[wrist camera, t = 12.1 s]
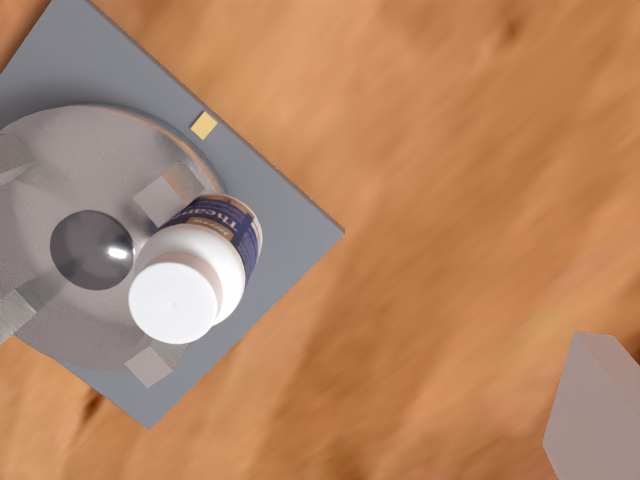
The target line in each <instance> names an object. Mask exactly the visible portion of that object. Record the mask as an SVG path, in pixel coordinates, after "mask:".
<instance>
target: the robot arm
mask: <svg viewBox="0 0 640 480" xmlns="http://www.w3.org/2000/svg"><path fill="white" fill-rule="evenodd" d="M542 445H543V447H544V449H545V452H546V454H547V456H548V458H549V460H550V463H551V465H552V467H553V469H554V471H555V474H556V476H557V478H558V480H640V366H639V365H638V364H637V363H636V362H635V360H634V359H633V358H632V357H631V356H630V355H629V353H628V352H627V351H626V350H625V349H624V347H623V346H622V345H621V344H620V343H619V342H618V340H617V339H616V338H615V337H614V336H613V335H605V334H596V333H587V332H579V331H574V334H573V338H572V341H571V345H570V348H569V352H568V355H567V359H566V362H565V365H564V369H563V372H562V376H561V379H560V383H559V386H558V390H557V393H556V397H555V400H554V404H553V407H552V411H551V414H550V418H549V421H548V425H547V428H546V432H545V435H544V439H543V442H542Z"/></svg>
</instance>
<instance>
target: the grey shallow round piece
mask: <svg viewBox="0 0 640 480" xmlns="http://www.w3.org/2000/svg"><path fill="white" fill-rule="evenodd" d="M212 193H218V194H225V195H230V193H229V191H228V189H227V187H226V185H225V183H224V181H223V179H222V177H221V176H220V174H219V173H218V171H217V170H216V168H215V167H214V166H213V164H212V163H211V161H210V160H209V159H208V158H207V157H206V156H205V154H204V153H203V152H202V151H201V150H200V149H199V148H198V147H197V146H196V145H195V144H194V143H193V142H192V141H190V140H189V139H188V138H187V137H186V136H185V135H184V134H182V133H181V132H179V131H178V130H176V129H175V128H173V127H172V126H170V125H169V124H167V123H165V122H163V121H161V120H160V119H158V118H156V117H154V116H152V115H149V114H147V113H144V112H141V111H138V110H136V109H133V108H128V107H124V106H120V105H115V104H105V103H79V104H74V105H68V106H63V107H58V108H53V109H48V110H44V111H40V112H37V113H34V114H31V115H28V116H25V117H23V118H21V119H19V120H17V121H15V122H13V123H11V124H9V125H7V126H6V127H5V128H3V129H2V130H0V344H1V343H3V342H4V341H5V340H6V339H7V338H8V337H10V336H11V335H12V334H14V335H15V336H17V337H18V338H19V339H21V340H22V341H23V342H25V343H26V344H27V345H29V346H31V347H32V348H34V349H36V350H38V351H39V352H41V353H43V354H45V355H47V356H49V357H52V358H54V359H56V360H58V361H61V362H64V363H67V364H70V365H73V366H77V367H82V368H86V369H91V370H100V371H129V370H131V372H132V373H133V374H134V375H135V376H136V377H137V378H138V379H139V380H140V381H141V382H142V383H143V385H144V386H145V387H146V388H149V387H150V386H152V385H153V384H155V383H156V382H158V381H159V380H161V379H162V378H164V377H165V376H167V375H168V374H170V373H171V372H173V370H174V369H175V367H176V365H177V363H178V361H179V359H180V357H181V356H182V354H183V352H184V351H185V350H187V349H188V348H189V347H190V346H192V345H193V344H194V343H196V342H197V341H198V340H199V339H200V338H201V337H200V338H199V339H197V340H195V341H192V342H189V343H184V344H170V343H165V342H161V341H159V340H156V339H154V338H152V337H150V336H149V335H147V334H146V333H145V332H144V331H143V330H142V329H141V328H140V327H139V326H138V325H137V324H136V322H135V321H134V319H133V317H132V315H131V313H130V309H129V305H128V293H129V289H130V285H131V283H132V281H133V279H134V268H135V263H136V259H137V257H138V254H139V252H140V251H141V249H142V247H143V246H144V244H145V243H146V242H147V241H148V240H149V239H150V238H151V237H152V236H153V235H154V234H155V233H156V232H157V231H158V230H159V229H160V228H161V227H162V226H163V225H164V224H165V223H166V222H167V221H169V220H170V219H171V218H172V217H173V216H175V215H176V214H177V213H179V212H180V211H181V210H183V209H184V208H185V207H187V206H188V205H189V204H190V203H191V202H192V201H193V200H194V199H195V198H197V197H199V196H202V195H206V194H212Z"/></svg>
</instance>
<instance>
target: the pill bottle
mask: <svg viewBox="0 0 640 480" xmlns="http://www.w3.org/2000/svg"><path fill="white" fill-rule="evenodd" d="M261 248H262V230H261V226H260V224H259V221H258V219H257V217H256V215H255V214H254V212H253V211H252V210H251V209H250V208H249V207H248V206H247V205H246V204H244V203H243V202H242V201H240V200H238V199H237V198H234V197H232V196H230V195H225V194H218V193H212V194H206V195H202V196H199V197H197V198H195V199H194V200H193V201H192V202H191V203H190V204H189V205H188V206H187V207H185V208H184V209H183V210H181V211H180V212H179V213H177V214H176V215H175V216H173V217H172V218H171V219H170V220H169V221H167V222H166V223H165V224H164V225H163V226H162V227H161V228H160V229H159V230H158V231H157V232H156V233H155V234H154V235H153V236H152V237H151V238H150V239H149V240H148V241H147V242H146V243H145V244H144V246H143V247H142V249H141V251H140V252H139V254H138V257H137V259H136V263H135V268H134V279H133V281H132V283H131V285H130V289H129V293H128V305H129V309H130V313H131V315H132V317H133V319H134V321H135V322H136V324H137V325H138V326H139V327H140V328H141V329H142V330H143V331H144V332H145V333H146V334H147V335H149V336H150V337H152V338H154V339H156V340H159V341H161V342H165V343H170V344H184V343H189V342H192V341H195V340H197V339H199V338H200V337H202V336H203V335H204V334H206V333H207V332H208V330H209V329H210V328H211V327H212V326H214V325H216V324H218V323H220V322H222V321H223V320H224V319H226V318H227V317H228V316H229V315H230V314H231V313H232V312H233V311H234V310H235V308H236V307H237V305H238V303H239V302H240V300H241V298H242V295H243V293H244V291H245V288H246V286H247V284H248V281H249V279H250V276H251V274H252V272H253V270H254V267H255V265H256V262H257V260H258V258H259V255H260V252H261Z"/></svg>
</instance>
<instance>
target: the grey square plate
mask: <svg viewBox="0 0 640 480" xmlns="http://www.w3.org/2000/svg"><path fill="white" fill-rule="evenodd" d="M79 103H105V104H115V105H120V106H124V107H128V108H133V109H136V110H138V111H141V112H144V113H147V114H149V115H152V116H154V117H156V118H158V119H160V120H161V121H163V122H165V123H167V124H169V125H170V126H172V127H173V128H175V129H176V130H178V131H179V132H181V133H182V134H184V135H185V136H186V137H187V138H188V139H189V140H190V141H192V142H193V143H194V144H195V145H196V146H197V147H198V148H199V149H200V150H201V151H202V152H203V153H204V154H205V156H206V157H207V158H208V159H209V160H210V161H211V163H212V164H213V166H214V167H215V168H216V170H217V171H218V173H219V174H220V176H221V177H222V179H223V181H224V183H225V185H226V187H227V189H228V191H229V193H230V196H232V197H234V198H237V199H238V200H240V201H242V202H243V203H244V204H246V205H247V206H248V207H249V208H250V209H251V210H252V211H253V212H254V214H255V215H256V217H257V219H258V221H259V224H260V226H261V230H262V248H261V252H260V255H259V258H258V260H257V262H256V265H255V267H254V270H253V272H252V274H251V276H250V279H249V281H248V284H247V286H246V288H245V291H244V293H243V295H242V298H241V300H240V302H239V303H238V305H237V307H236V308H235V310H234V311H233V312H232V313H231V314H230V315H229V316H228V317H227V318H226V319H224V320H223V321H222V322H220V323H218V324H216V325H214V326H212V327H211V328H210V329H209V330H208V332H207V333H206V334H204V335H203V336H202V337H201V338H200V339H199V340H198V341H197V342H196V343H194V344H193V345H192V346H190V347H189V348H188V349H187V350H185V351H184V352H183V354H182V356H181V357H180V359H179V361H178V363H177V365H176V367H175V369H174V370H173V372H171V373H170V374H168V375H167V376H165V377H164V378H162V379H161V380H159V381H158V382H156V383H155V384H153V385H152V386H150V387H149V388H146V387H145V386H144V385H143V383H142V382H141V381H140V380H139V379H138V378H137V377H136V376H135V375H134V374H133V373H132V372H131V370H129V371H100V370H91V369H86V368H82V367H77V366H73V365H70V364H67V363H64V362H61V361H58V360H56V359H55V360H56V361H58V362H59V363H60V364H62V365H63V366H64V367H66V368H67V369H68V370H70V371H71V372H72V373H74V374H75V375H76V376H78V377H79V378H80V379H82V380H83V381H84V382H86V383H87V384H88V385H90V386H91V387H92V388H94V389H95V390H96V391H98V392H99V393H100V394H102V395H103V396H105V397H106V398H107V399H109V400H110V401H111V402H113V403H114V404H115V405H117V406H118V407H119V408H121V409H122V410H123V411H125V412H126V413H127V414H129V415H130V416H131V417H133V418H134V419H135V420H137V421H138V422H139V423H141V424H142V425H143V426H145V427H146V428H147V429H149V430H150V429H151V428H152V427H153V426H154V425H155V424H156V423H157V422H158V421H159V420H160V419H161V418H162V417H163V416H164V415H165V414H166V413H167V412H168V411H169V410H170V409H171V408H172V407H173V406H174V405H175V404H176V403H177V402H178V401H179V400H180V399H181V398H182V397H183V396H184V395H185V394H186V393H187V392H188V391H189V390H190V389H191V388H192V387H193V386H194V385H195V384H196V383H197V382H198V381H199V380H200V379H201V378H202V377H203V376H204V375H205V374H206V373H207V372H208V371H209V370H210V369H211V368H212V367H213V366H214V365H215V364H216V363H217V362H218V361H219V360H220V359H221V358H222V357H223V356H224V355H225V354H226V353H227V352H228V351H229V350H230V349H231V348H232V347H233V346H234V345H235V344H236V343H237V342H238V341H239V340H240V339H241V338H242V337H243V336H244V335H245V334H246V333H247V332H248V331H249V330H250V329H251V328H252V327H253V326H254V325H255V324H256V323H257V322H258V321H259V320H260V319H261V318H262V317H263V316H264V315H265V314H266V313H267V312H268V311H269V310H270V309H271V308H272V307H273V306H274V305H275V304H276V303H277V302H278V301H279V300H280V299H281V298H282V297H283V296H284V295H285V294H286V293H287V292H288V291H289V289H290V288H291V287H292V286H293V285H294V284H295V283H296V282H297V281H298V280H299V279H300V278H301V277H302V276H303V275H304V274H305V273H306V272H307V271H308V270H309V269H310V268H311V267H312V266H313V265H314V264H315V263H316V262H317V261H318V260H319V259H320V258H321V257H322V256H323V255H324V254H325V253H326V252H327V251H328V250H329V249H330V248H331V247H332V246H333V245H334V244H335V243H336V242H337V241H338V240H339V239H340V238H341V237H342V236H343V235H344V234H345V229H344V228H342V227H341V226H340V225H339V224H338V223H337V222H336V221H335V220H334V219H332V218H331V217H330V216H329V215H328V214H327V213H326V212H325V211H324V210H322V209H321V208H320V207H319V206H318V205H317V204H316V203H315V202H314V201H312V200H311V199H310V198H309V197H308V196H307V195H306V194H305V193H304V192H302V191H301V190H300V189H299V188H298V187H297V186H296V185H295V184H294V183H292V182H291V181H290V180H289V179H288V178H287V177H286V176H285V175H284V174H282V173H281V172H280V171H279V170H278V169H277V168H276V167H275V166H274V165H272V164H271V163H270V162H269V161H268V160H267V159H266V158H265V157H264V156H262V155H261V154H260V153H259V152H258V151H257V150H256V149H255V148H254V147H252V146H251V145H250V144H249V143H248V142H247V141H246V140H245V139H244V138H242V137H241V136H240V135H239V134H238V133H237V132H236V131H235V130H234V129H232V128H231V127H230V126H229V125H228V124H227V123H226V122H225V121H224V120H222V119H221V118H220V117H219V116H218V115H217V114H216V113H215V112H214V111H212V110H211V109H210V108H209V107H208V106H207V105H206V104H205V103H204V102H202V101H201V100H200V99H199V98H198V97H197V96H196V95H195V94H194V93H192V92H191V91H190V90H189V89H188V88H187V87H186V86H185V85H184V84H182V83H181V82H180V81H179V80H178V79H177V78H176V77H175V76H174V75H172V74H171V73H170V72H169V71H168V70H167V69H166V68H165V67H164V66H162V65H161V64H160V63H159V62H158V61H157V60H156V59H155V58H154V57H152V56H151V55H150V54H149V53H148V52H147V51H146V50H145V49H144V48H142V47H141V46H140V45H139V44H138V43H137V42H136V41H135V40H134V39H132V38H131V37H130V36H129V35H128V34H127V33H126V32H125V31H124V30H122V29H121V28H120V27H119V26H118V25H117V24H116V23H115V22H114V21H112V20H111V19H110V18H109V17H108V16H107V15H106V14H105V13H104V12H102V11H101V10H100V9H99V8H98V7H97V6H96V5H95V4H94V3H92V2H91V1H90V0H52V1H51V2H50V4H49V5H48V7H47V8H46V9H45V11H44V12H43V14H42V15H41V17H40V18H39V20H38V21H37V23H36V24H35V25H34V27H33V28H32V30H31V31H30V33H29V34H28V36H27V37H26V38H25V40H24V41H23V43H22V44H21V46H20V47H19V49H18V50H17V52H16V53H15V54H14V56H13V57H12V59H11V60H10V62H9V63H8V65H7V66H6V67H5V69H4V70H3V72H2V73H1V75H0V130H2V129H3V128H5V127H6V126H7V125H9V124H11V123H13V122H15V121H17V120H19V119H21V118H23V117H25V116H28V115H31V114H34V113H37V112H40V111H44V110H48V109H53V108H58V107H63V106H68V105H74V104H79ZM53 359H54V358H53Z"/></svg>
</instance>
